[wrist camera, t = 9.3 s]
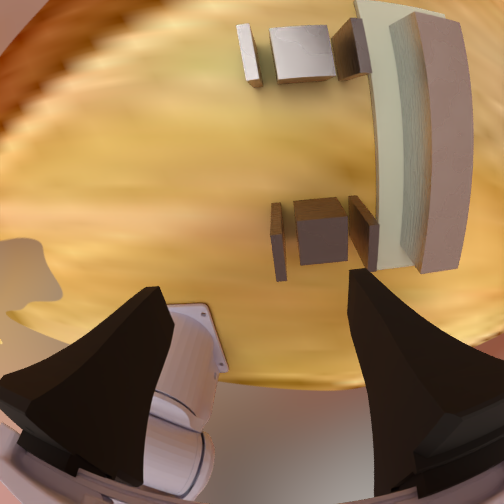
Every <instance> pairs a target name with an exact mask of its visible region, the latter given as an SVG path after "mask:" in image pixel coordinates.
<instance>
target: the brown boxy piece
mask: <svg viewBox="0 0 504 504" xmlns="http://www.w3.org/2000/svg"><path fill="white" fill-rule="evenodd" d="M293 203H294V212H295V222H296V232H297V242H298V249H299V257H300V264H301V265H311V264H321V263H331V262H340V261H348V216H347V214H346V213H345V211H344V209H343V208H342V206H341V204H340V203H339V201H338V199H337V198H336V197H332V198H320V199H310V200H299V201H293ZM379 229H380V225H379V223H378V222H377V221H376V219H375V218H374V217H373V215H372V214H371V213H370V212H369V210H368V209H367V208H366V206H365V205H364V204H363V203H362V201H361V200H360V199H359V198H358V196H349V235H350V237H351V239H352V241H353V243H354V246H355V248H356V250H357V252H358V254H359V256H360V258H361V260H362V262H363V264H364V266H365V268H366V269H367V270H368V271H369V272H374V271H377V261H378V247H379ZM270 237H271V244H272V251H273V258H274V265H275V273H276V280H277V282H279V281H287V271H286V251H285V237H284V229H283V220H282V212H281V204H280V203H272V206H271V231H270Z"/></svg>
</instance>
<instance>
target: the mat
mask: <svg viewBox="0 0 504 504" xmlns="http://www.w3.org/2000/svg"><path fill="white" fill-rule="evenodd" d="M354 5H355V9H356V14H357V18H362V21H363V25H364V30H365V34H366V39H367V44H368V50H369V56H370V61H371V68H372V73H371V74H368V77H369V85H370V92H371V101H372V111H373V122H374V135H375V153H376V221H377V222H378V223H379V225H380V229H379V247H378V261H377V270H383V269H391V268H399V267H406V266H414V264H413V263H412V261H411V260H410V258H409V257H408V256H407V254H406V253H405V251H404V250H403V249H402V247H401V246H400V237H401V225H402V210H403V182H404V155H403V128H402V113H401V102H400V92H399V83H398V76H397V69H396V62H395V56H394V50H393V45H392V40H391V35H390V30H389V25H391V24H393V23H395V22H396V21H398V20H400V19H401V18H403V17H405V16H407V15H409V14H410V13H412V12H414V11H415V12H420V13H425V14H429V15H433V16H437V17H441V18H445V15H444V14H441V13H437V12H433V11H429V10H425V9H421V8H416V7H411V6H406V5H400V4H394V3H387V2H380V1H371V0H355V1H354Z"/></svg>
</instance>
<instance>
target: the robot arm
mask: <svg viewBox="0 0 504 504" xmlns="http://www.w3.org/2000/svg"><path fill="white" fill-rule="evenodd" d="M203 313H206V314H203ZM347 315H348V320H349V326H350V331H351V336H352V340H353V343H354V346H355V350H356V353H357V356H358V360H359V363H360V367H361V370H362V374H363V377H364V381H365V384H366V389H367V393H368V399H369V407H370V414H371V423H372V433H373V448H374V498H369V499H364V500H358V501H353V502H346V503H339V504H504V360H501V359H498V358H495V357H493V356H490V355H488V354H486V353H483V352H481V351H479V350H476V349H475V348H473V347H471V346H469V345H466V344H465V343H463V342H461V341H459V340H457V339H456V338H454V337H452V336H450V335H449V334H447V333H445V332H444V331H442V330H440V329H439V328H437V327H436V326H434V325H433V324H432V323H430V322H429V321H427V320H426V319H424V318H423V317H422V316H420V315H419V314H418V313H416V312H415V311H414V310H413V309H411V308H410V307H409V306H407V305H406V304H405V303H404V302H403V301H401V300H400V299H399V298H398V297H397V296H396V295H395V294H393V293H392V292H391V291H390V290H389V289H388V288H387V287H386V286H385V285H383V284H382V283H381V282H380V281H379V280H378V279H377V278H376V277H375V276H374V275H373V274H372V273H370V272H369V271H368V270H367V269H366V268H362V269H353V270H349V292H348V309H347ZM228 370H229V367H228V364H227V362H226V359H225V356H224V353H223V350H222V347H221V344H220V341H219V338H218V336H217V333H216V330H215V327H214V324H213V320H212V317H211V314H210V311H209V308H208V306H207V305H206V304H202V303H200V304H178V305H167V304H166V302H165V300H164V297H163V295H162V292H161V290H160V287H159V286H155V287H145V288H144V289H142V290H141V291H140V292H138V293H137V294H136V295H134V296H133V297H132V298H131V299H129V300H128V301H127V302H126V303H125V304H123V305H122V306H121V307H120V308H119V309H117V310H116V311H115V312H114V313H113V314H111V315H110V316H109V317H108V318H106V319H105V320H104V321H103V322H101V323H100V324H99V325H98V326H96V327H95V328H94V329H92V330H91V331H90V332H89V333H87V334H86V335H84V336H83V337H82V338H80V339H79V340H77V341H76V342H74V343H73V344H71V345H70V346H68V347H66V348H65V349H63V350H61V351H59V352H58V353H56V354H54V355H52V356H51V357H49V358H47V359H45V360H42V361H41V362H38V363H36V364H34V365H31V366H29V367H27V368H24V369H21V370H18V371H15V372H13V373H9V374H6V375H4V376H3V377H2V378H1V380H0V409H1V410H2V411H3V412H4V413H5V414H6V415H7V416H8V417H9V418H10V419H11V420H12V421H13V422H15V423H16V424H17V425H18V426H19V427H20V428H21V429H23V431H22V433H21V434H19V433H18V432H17V431H15V430H14V429H12V428H10V427H9V426H8V425H6V424H4V423H1V425H0V481H1V482H2V483H3V484H4V485H5V486H6V487H7V488H8V490H9V491H10V492H11V493H12V494H13V495H14V496H15V497H16V498H17V499H18V500H19V501H20V502H21V503H22V504H208V503H201V502H194V500H195V499H196V497H197V496H198V494H199V493H200V492H201V491H202V490H203V489H204V488H205V486H206V485H207V483H208V480H209V479H210V476H211V473H212V469H213V466H214V460H215V449H214V445H213V443H212V440H211V437H210V436H209V434H208V433H206V432H204V431H202V429H203V427H204V426H205V425H206V424H207V422H208V421H209V419H210V416H211V412H212V407H213V401H214V397H215V391H216V387H217V382H218V377H219V373H225V372H228Z"/></svg>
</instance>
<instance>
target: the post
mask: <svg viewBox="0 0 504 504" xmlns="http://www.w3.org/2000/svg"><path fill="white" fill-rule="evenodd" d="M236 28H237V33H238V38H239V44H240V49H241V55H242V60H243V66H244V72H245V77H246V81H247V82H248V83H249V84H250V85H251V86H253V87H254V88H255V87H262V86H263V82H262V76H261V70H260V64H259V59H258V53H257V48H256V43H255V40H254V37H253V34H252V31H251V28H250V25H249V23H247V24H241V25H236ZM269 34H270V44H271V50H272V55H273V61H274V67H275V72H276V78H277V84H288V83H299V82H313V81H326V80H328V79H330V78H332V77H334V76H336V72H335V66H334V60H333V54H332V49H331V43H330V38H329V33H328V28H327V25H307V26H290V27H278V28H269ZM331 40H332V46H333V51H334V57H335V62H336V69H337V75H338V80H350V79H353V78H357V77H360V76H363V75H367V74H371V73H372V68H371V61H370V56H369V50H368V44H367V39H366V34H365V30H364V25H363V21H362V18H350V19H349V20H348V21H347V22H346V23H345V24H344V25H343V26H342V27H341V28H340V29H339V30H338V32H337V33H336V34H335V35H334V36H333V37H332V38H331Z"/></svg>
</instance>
